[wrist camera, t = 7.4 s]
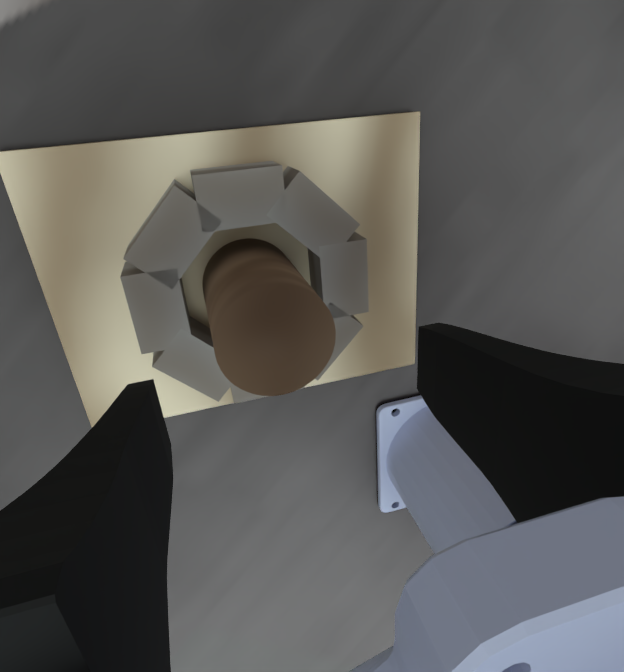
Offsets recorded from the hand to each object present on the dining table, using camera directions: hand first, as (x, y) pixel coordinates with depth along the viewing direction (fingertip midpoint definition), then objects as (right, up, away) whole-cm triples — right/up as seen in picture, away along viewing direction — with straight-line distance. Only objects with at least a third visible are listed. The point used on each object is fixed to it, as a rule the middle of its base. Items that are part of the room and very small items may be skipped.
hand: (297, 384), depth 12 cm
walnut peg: (-2, +4, +8) cm, 9 cm away
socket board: (-3, +4, +9) cm, 10 cm away
